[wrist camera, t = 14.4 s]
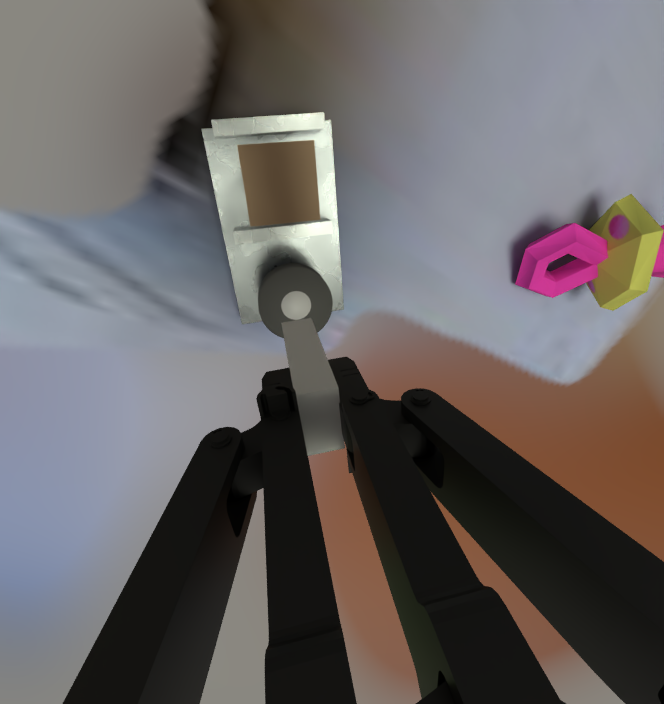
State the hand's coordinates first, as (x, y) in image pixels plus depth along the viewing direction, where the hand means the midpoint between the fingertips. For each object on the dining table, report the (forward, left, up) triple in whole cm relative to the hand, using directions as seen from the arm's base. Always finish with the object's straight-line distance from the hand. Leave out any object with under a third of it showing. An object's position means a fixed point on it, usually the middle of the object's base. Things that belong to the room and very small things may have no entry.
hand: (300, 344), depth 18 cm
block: (-1, -7, -17) cm, 18 cm away
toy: (-34, +3, -19) cm, 39 cm away
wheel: (-1, +2, -15) cm, 15 cm away
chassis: (-1, -3, -19) cm, 19 cm away
